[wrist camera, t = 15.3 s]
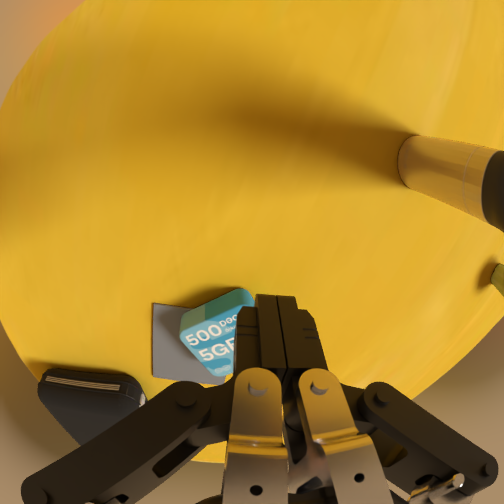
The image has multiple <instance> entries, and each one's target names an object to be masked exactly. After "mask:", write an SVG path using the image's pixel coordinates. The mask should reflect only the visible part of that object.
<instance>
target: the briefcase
mask: <svg viewBox="0 0 504 504" xmlns="http://www.w3.org/2000/svg"><path fill="white" fill-rule="evenodd" d="M38 396H39V398H40V400H41V402H42V403H43V404H44V405H45V407H46V408H47V409H48V410H49V411H50V413H51V414H52V415H53V416H54V417H55V419H56V420H57V421H58V422H59V423H60V424H61V425H62V426H63V428H64V429H65V430H66V431H67V432H68V433H69V434H70V435H71V436H72V437H73V438H74V439H75V440H76V441H77V442H78V443H79V444H80V445H81V446H82V445H84V444H85V443H87V442H88V441H90V440H91V439H93V438H95V437H96V436H98V435H99V434H101V433H102V432H104V431H105V430H107V429H108V428H110V427H111V426H113V425H114V424H116V423H117V422H119V421H120V420H122V419H123V418H125V417H126V416H128V415H129V414H130V413H132V412H133V411H135V410H136V409H138V408H139V407H141V406H142V405H143V404H145V403H146V402H148V400H147V398H146V396H145V394H144V392H143V390H142V387H141V385H140V384H139V382H138V381H137V380H136V379H134V378H133V377H130V376H127V375H111V374H98V373H87V372H78V371H70V370H62V369H55V368H52V369H48V370H47V371H46V372H45V373H43V375H42V379H41V381H40V382H39V383H38Z"/></svg>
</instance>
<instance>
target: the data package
mask: <svg viewBox="0 0 504 504" xmlns="http://www.w3.org/2000/svg"><path fill="white" fill-rule="evenodd" d="M254 303H255V301H254V300H253V298H252V296H251V295H250V293H249V292H248V291H247V290H245V289H235V290H233V291H231V292H229V293H227V294H225V295H223V296H220V297H218V298H216V299H214V300H212V301H210V302H208V303H205V304H203V305H201V306H199V307H197V308H195V309H192V310H190V311H188V312H186V313H184V314H183V315H182V318H181V324H180V332H179V338H180V340H181V341H182V342H183V343H184V345H185V346H186V347H187V348H188V349H189V350H190V351H191V352H192V354H193V355H194V356H195V357H196V358H197V359H198V360H199V361H200V362H201V363H202V364H203V366H204V367H205V368H206V369H207V370H208V371H209V372H210V373H211V374H212V375H214V376H225V375H227V374H230V373H233V353H234V335H235V327H236V318H237V314H238V312H239V311H240V309H241V307H242V306H252V307H254Z"/></svg>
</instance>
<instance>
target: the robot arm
mask: <svg viewBox="0 0 504 504" xmlns="http://www.w3.org/2000/svg"><path fill="white" fill-rule="evenodd" d="M398 170H399V174H400V177H401V179H402V181H403V182H404V183H405V185H406V186H408V187H409V188H411V189H413V190H415V191H418V192H420V193H423V194H425V195H427V196H430V197H432V198H435V199H437V200H439V201H442V202H444V203H446V204H449V205H451V206H453V207H455V208H457V209H460V210H462V211H464V212H466V213H468V214H470V215H472V216H475V217H477V218H479V219H481V220H483V221H485V222H487V223H489V224H491V225H492V226H494V227H496V228H498V229H500V230H501V231H502V232H504V151H501V150H497V149H492V148H488V147H484V146H479V145H474V144H469V143H464V142H459V141H453V140H447V139H441V138H435V137H427V136H419V135H416V136H412V137H410V138H408V139H407V140H406V141H405V142H404V143H403V145H402V147H401V149H400V151H399V155H398ZM282 404H283V412H284V413H283V415H282ZM282 432H283V437H284V443H285V445H284V444H283V441H282ZM223 441H227V446H226V455H225V465H224V472H223V480H222V490H221V494H220V495H216V496H212V497H209V498H207V499H204V500H202V501H200V502H198V503H196V504H470V502H471V500H472V498H473V496H474V494H475V493H477V492H479V491H481V490H483V489H485V488H487V487H488V486H490V485H492V484H493V483H494V481H495V480H496V478H497V475H498V464H497V461H496V459H495V458H494V457H493V456H492V455H490V454H489V453H487V452H486V451H484V450H482V449H481V448H480V447H478V446H476V445H475V444H473V443H472V442H471V441H469V440H468V439H466V438H465V437H463V436H462V435H460V434H459V433H457V432H456V431H454V430H453V429H451V428H450V427H449V426H447V425H446V424H444V423H443V422H441V421H440V420H439V419H437V418H436V417H434V416H433V415H431V414H430V413H428V412H427V411H426V410H424V409H423V408H422V407H420V406H419V405H417V404H416V403H414V402H413V401H412V400H410V399H409V398H407V397H406V396H405V395H403V394H402V393H401V392H399V391H398V390H396V389H395V388H394V387H392V386H391V385H389V384H387V383H384V382H374V383H371V384H369V385H368V386H367V387H366V389H361V388H356V387H351V386H347V385H344V384H342V383H340V382H339V380H338V378H337V377H336V376H335V375H334V374H333V373H331V372H329V370H328V367H327V364H326V360H325V356H324V353H323V349H322V345H321V342H320V339H319V335H318V331H317V328H316V324H315V321H314V318H313V317H312V316H311V315H310V313H309V312H308V311H307V310H302V309H298V307H297V303H296V299H295V297H294V296H281V295H276V296H275V295H266V294H256V297H255V303H254V307H252V306H242V307H241V309H240V311H239V312H238V314H237V318H236V327H235V335H234V353H233V376H232V378H231V379H230V380H229V381H227V382H226V383H224V384H221V385H218V386H214V387H209V388H204V387H203V386H201V385H200V384H198V383H196V382H192V381H179V382H175V383H173V384H171V385H170V386H168V387H167V388H166V389H164V390H163V391H161V392H160V393H159V394H157V395H156V396H155V397H153V398H152V399H150V400H149V401H148V402H146V403H145V404H143V405H142V406H141V407H139V408H138V409H136V410H135V411H133V412H132V413H130V414H129V415H128V416H126V417H125V418H123V419H122V420H120V421H119V422H117V423H116V424H114V425H113V426H111V427H110V428H108V429H107V430H105V431H104V432H102V433H101V434H99V435H98V436H96V437H95V438H93V439H91V440H90V441H88V442H87V443H85V444H84V445H82V446H80V447H79V448H77V449H76V450H74V451H72V452H71V453H69V454H68V455H66V456H64V457H62V458H61V459H59V460H57V461H56V462H54V463H52V464H50V465H49V466H47V467H45V468H43V469H42V470H40V471H38V472H36V473H34V474H33V475H31V476H29V477H27V478H26V479H25V480H24V481H23V483H22V486H21V496H22V500H23V502H24V504H134V503H136V502H137V501H139V500H140V499H142V498H143V497H144V496H146V495H147V494H148V493H150V492H151V491H152V490H154V489H155V488H156V487H157V486H159V485H160V484H162V483H163V482H164V481H165V480H167V479H168V478H169V477H170V476H172V475H173V474H174V473H175V472H177V471H178V470H179V469H180V468H181V467H182V466H184V465H185V464H186V463H187V462H189V461H190V460H191V459H192V458H193V457H194V456H196V455H197V454H198V453H199V452H200V451H201V450H202V449H203V448H205V447H206V446H207V445H209V444H214V443H218V442H223ZM288 464H289V471H288ZM386 479H387V480H389V481H390V482H392V483H393V484H395V485H396V486H397V487H399V488H401V489H402V490H403V491H405V492H407V493H408V494H409V495H411V496H410V497H409V498H408V500H407V501H405V500H404V499H402V498H401V497H399V496H398V495H397V494H395V493H394V492H393V491H391V490H390V489H389V487H388V484H387V481H386ZM288 487H289V492H290V493H288Z"/></svg>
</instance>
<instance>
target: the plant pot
mask: <svg viewBox="0 0 504 504" xmlns="http://www.w3.org/2000/svg"><path fill="white" fill-rule="evenodd" d="M491 283H492V284H493V285H494V286H495V287H496V288H497V289H498V291H499V292H500V293H501V294H502V295H503V296H504V265H502V264H499V265H498V266H497V267H496V268H495V271H494V273H493V274H492V277H491Z"/></svg>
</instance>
